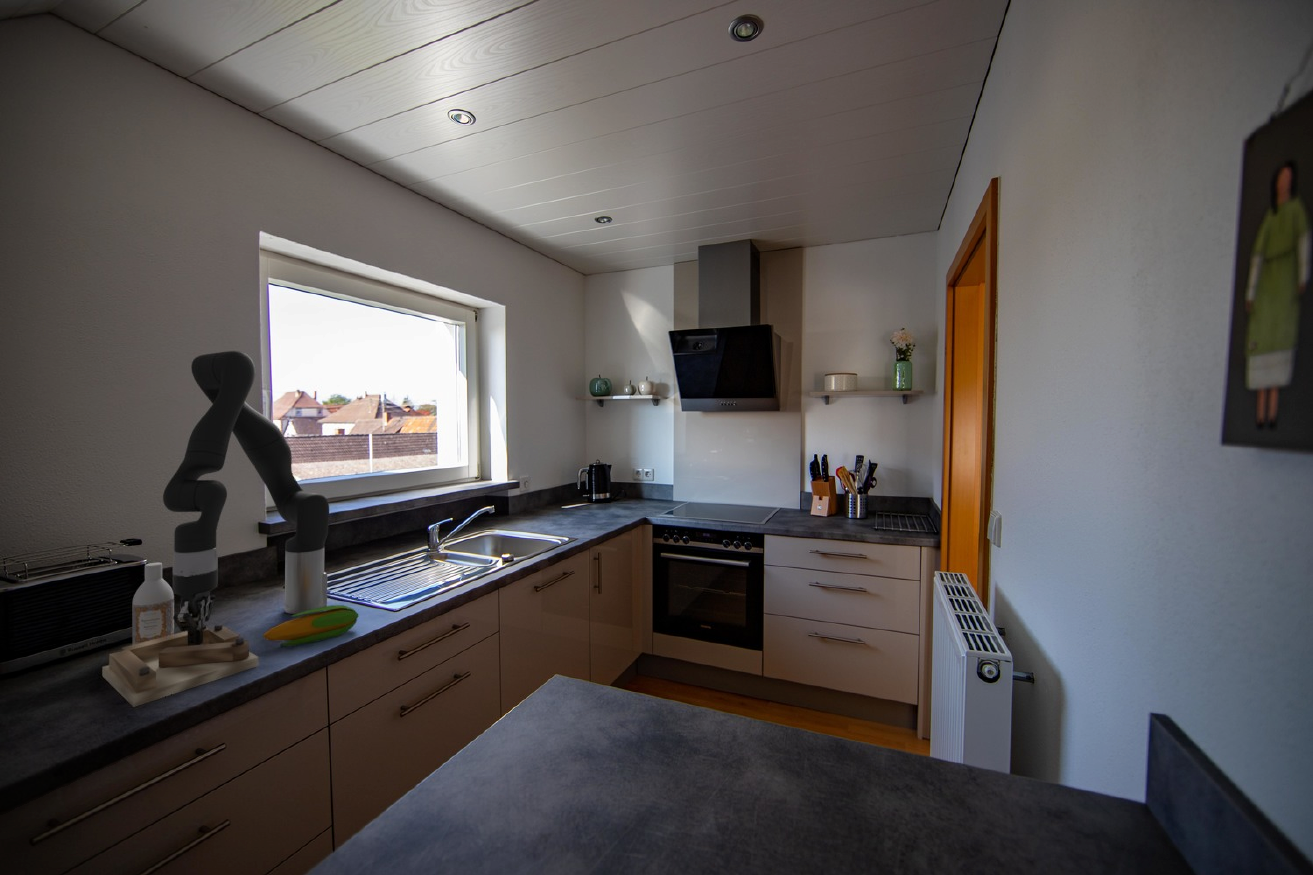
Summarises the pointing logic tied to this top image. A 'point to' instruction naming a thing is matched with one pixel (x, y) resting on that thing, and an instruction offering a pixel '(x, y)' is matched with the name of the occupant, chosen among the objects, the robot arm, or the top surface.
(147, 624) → the bath foam
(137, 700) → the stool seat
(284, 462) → the robot arm
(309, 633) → the corn
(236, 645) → the brown rectangular block
